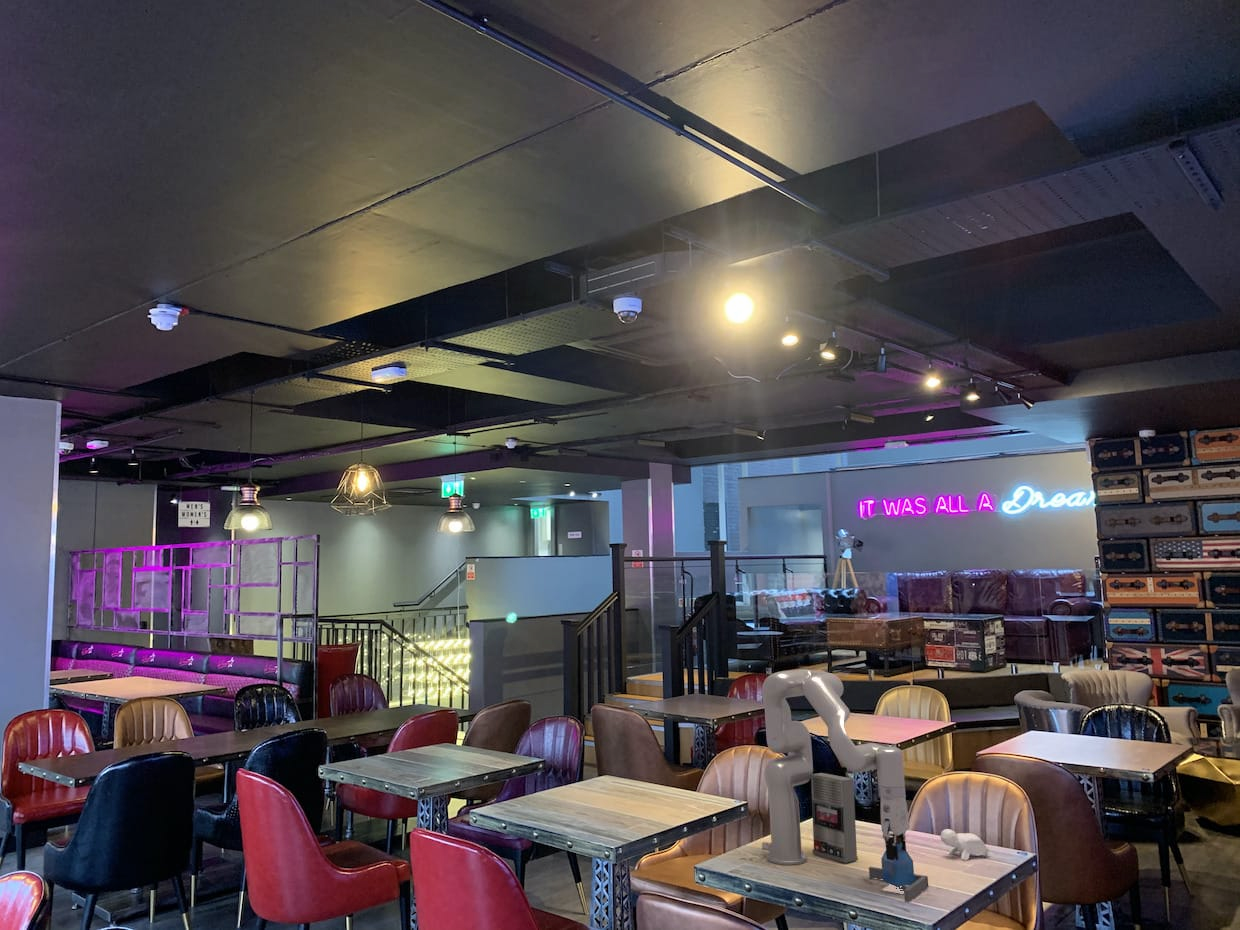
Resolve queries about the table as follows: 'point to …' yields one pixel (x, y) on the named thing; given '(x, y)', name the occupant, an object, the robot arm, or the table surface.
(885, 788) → the robot arm
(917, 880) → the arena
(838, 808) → the cassette tape recorder
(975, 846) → the white turtle figurine
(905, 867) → the perfume bottle
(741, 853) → the table surface
